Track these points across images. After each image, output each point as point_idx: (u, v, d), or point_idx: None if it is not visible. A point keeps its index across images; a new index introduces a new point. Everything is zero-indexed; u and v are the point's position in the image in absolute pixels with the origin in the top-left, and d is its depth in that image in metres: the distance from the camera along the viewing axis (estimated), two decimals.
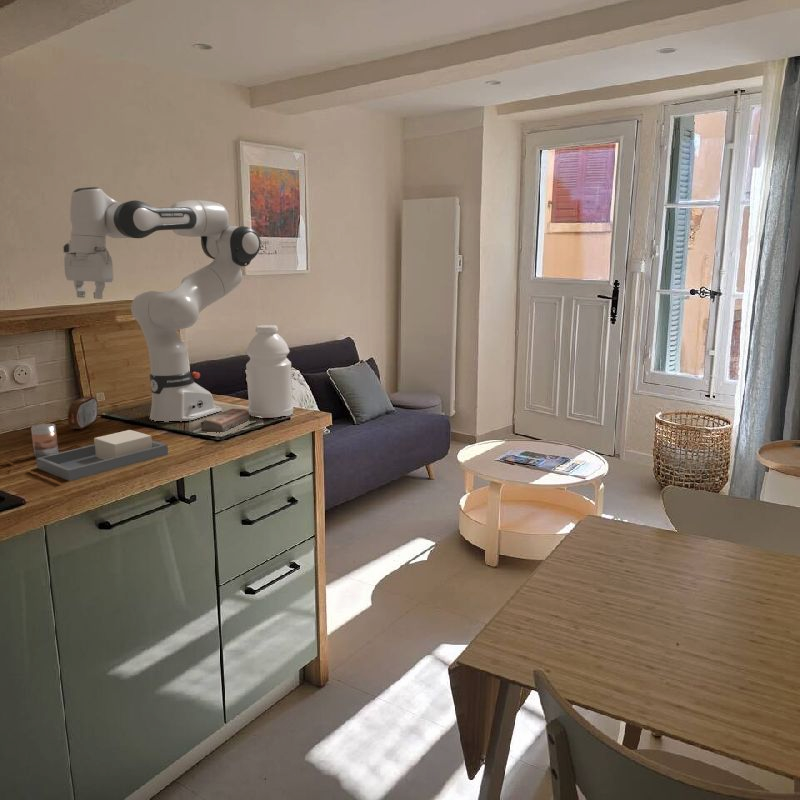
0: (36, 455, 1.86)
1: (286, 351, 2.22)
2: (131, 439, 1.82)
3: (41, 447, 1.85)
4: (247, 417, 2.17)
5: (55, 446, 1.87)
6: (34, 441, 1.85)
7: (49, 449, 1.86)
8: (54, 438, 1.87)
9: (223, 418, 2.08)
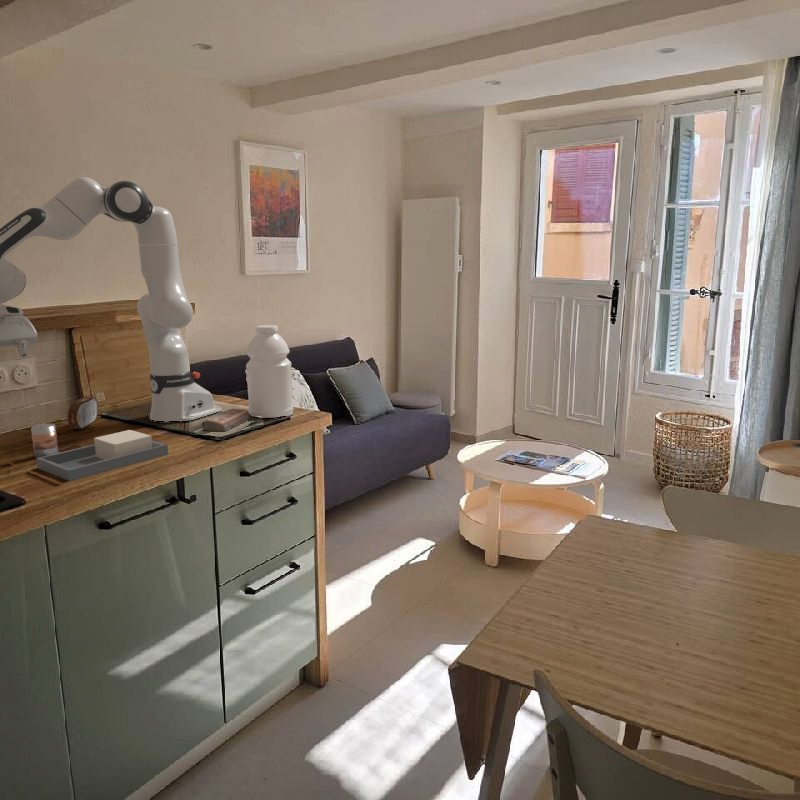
0: (36, 455, 1.86)
1: (286, 351, 2.22)
2: (131, 439, 1.82)
3: (41, 447, 1.85)
4: (247, 417, 2.17)
5: (55, 446, 1.87)
6: (34, 441, 1.85)
7: (49, 449, 1.86)
8: (54, 438, 1.87)
9: (224, 418, 2.08)
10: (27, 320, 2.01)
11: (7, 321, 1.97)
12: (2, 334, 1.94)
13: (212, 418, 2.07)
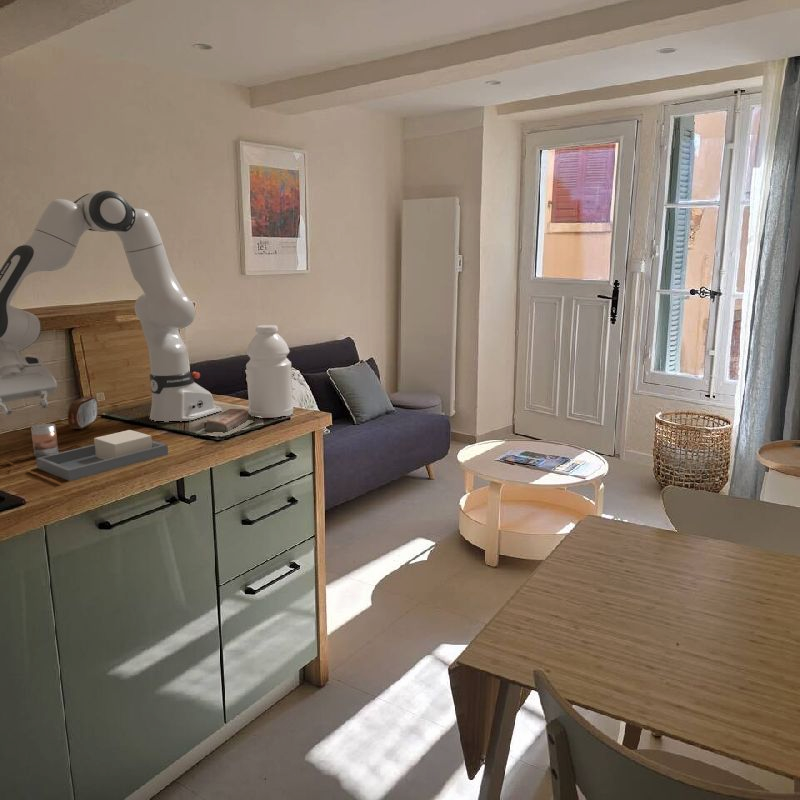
0: (36, 455, 1.86)
1: (286, 351, 2.22)
2: (131, 439, 1.82)
3: (41, 447, 1.85)
4: (246, 417, 2.18)
5: (55, 446, 1.87)
6: (34, 441, 1.85)
7: (49, 449, 1.86)
8: (54, 438, 1.87)
9: (226, 418, 2.08)
10: (46, 369, 1.98)
11: (27, 372, 1.95)
12: (21, 387, 1.92)
13: (213, 418, 2.07)
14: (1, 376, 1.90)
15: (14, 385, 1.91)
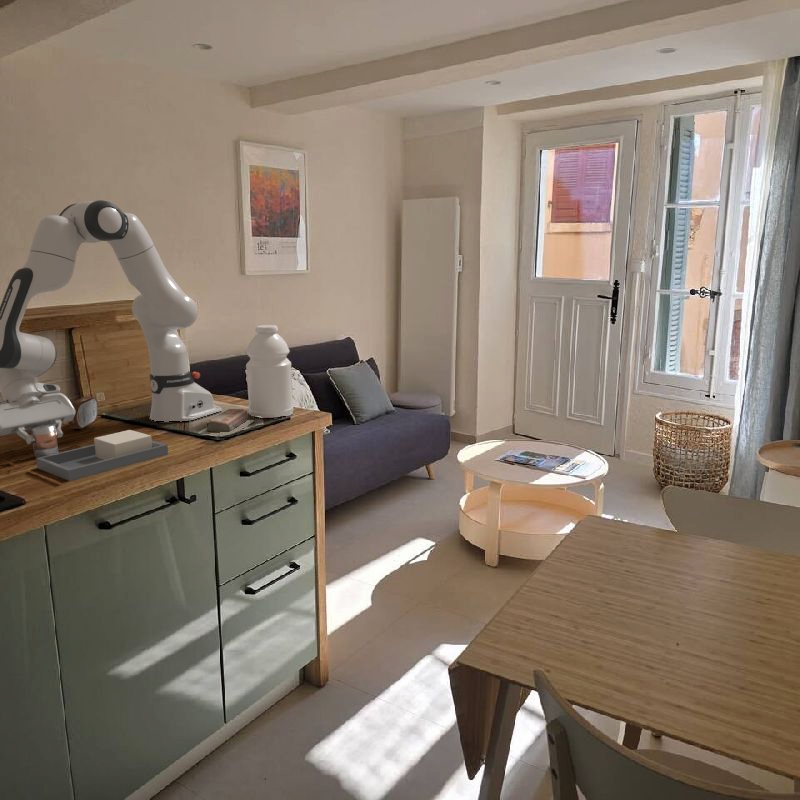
0: (36, 455, 1.86)
1: (286, 351, 2.22)
2: (131, 439, 1.82)
3: (41, 447, 1.85)
4: (246, 417, 2.18)
5: (55, 446, 1.87)
6: None
7: (49, 449, 1.86)
8: (54, 438, 1.87)
9: (227, 418, 2.08)
10: (64, 397, 1.95)
11: (45, 399, 1.91)
12: (40, 415, 1.88)
13: (215, 419, 2.07)
14: (19, 405, 1.86)
15: (33, 414, 1.87)
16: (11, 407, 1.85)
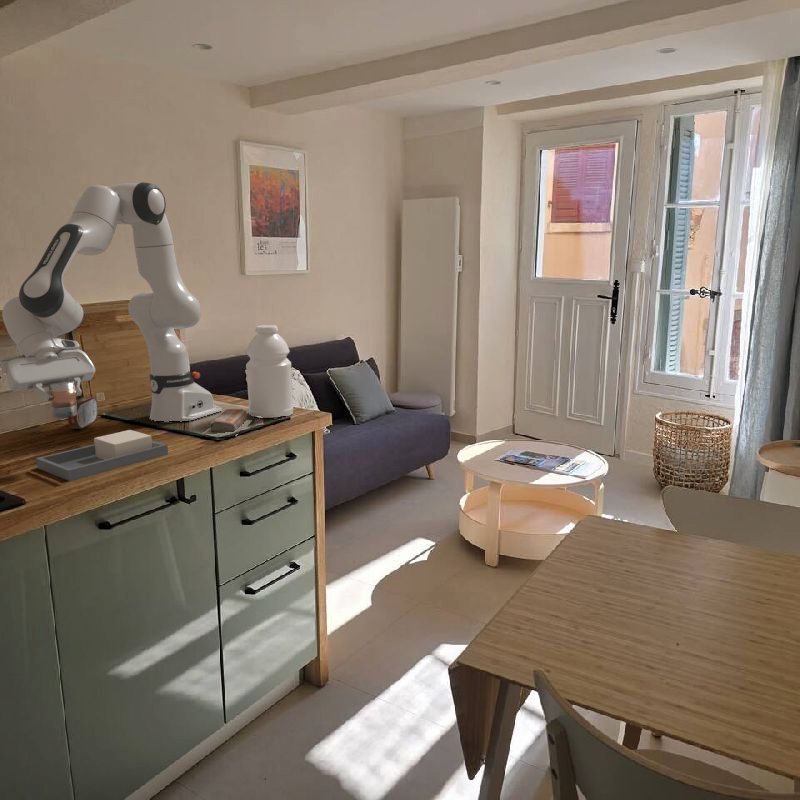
0: (54, 413, 1.74)
1: (286, 351, 2.22)
2: (131, 439, 1.82)
3: (59, 405, 1.73)
4: (245, 417, 2.18)
5: (74, 404, 1.76)
6: None
7: (67, 407, 1.74)
8: (73, 395, 1.75)
9: (230, 418, 2.08)
10: (83, 354, 1.83)
11: (63, 356, 1.80)
12: (58, 372, 1.76)
13: (219, 419, 2.06)
14: (36, 360, 1.75)
15: (50, 370, 1.76)
16: (28, 362, 1.74)
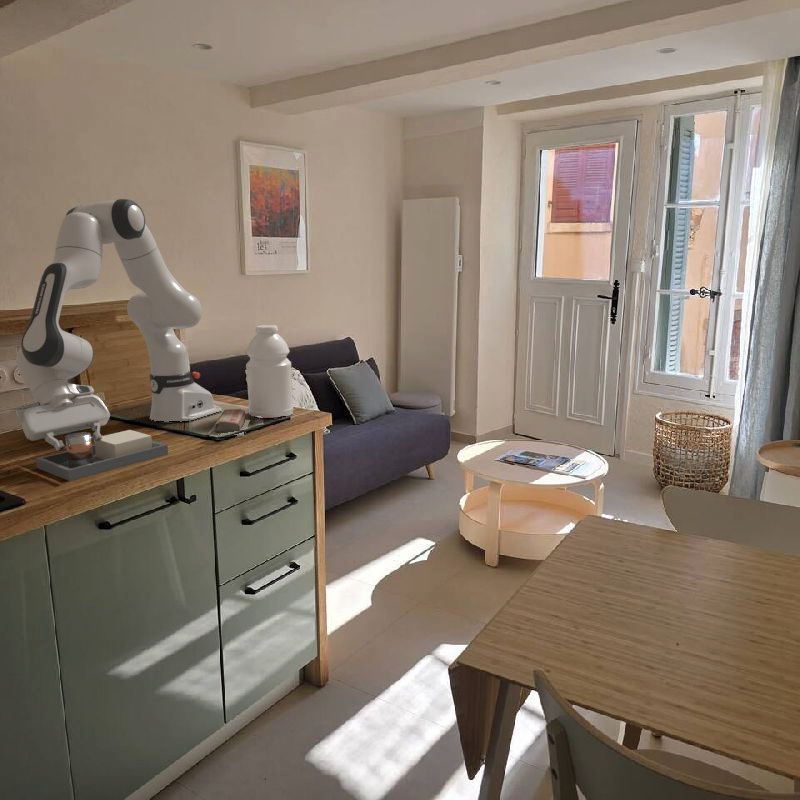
0: (71, 466, 1.74)
1: (286, 351, 2.22)
2: (131, 439, 1.82)
3: (76, 457, 1.73)
4: None
5: (90, 456, 1.76)
6: (69, 451, 1.74)
7: (84, 460, 1.74)
8: (90, 447, 1.75)
9: (234, 418, 2.08)
10: (98, 399, 1.83)
11: (78, 402, 1.80)
12: (73, 419, 1.76)
13: (222, 419, 2.06)
14: (51, 407, 1.75)
15: (66, 417, 1.76)
16: (43, 410, 1.73)
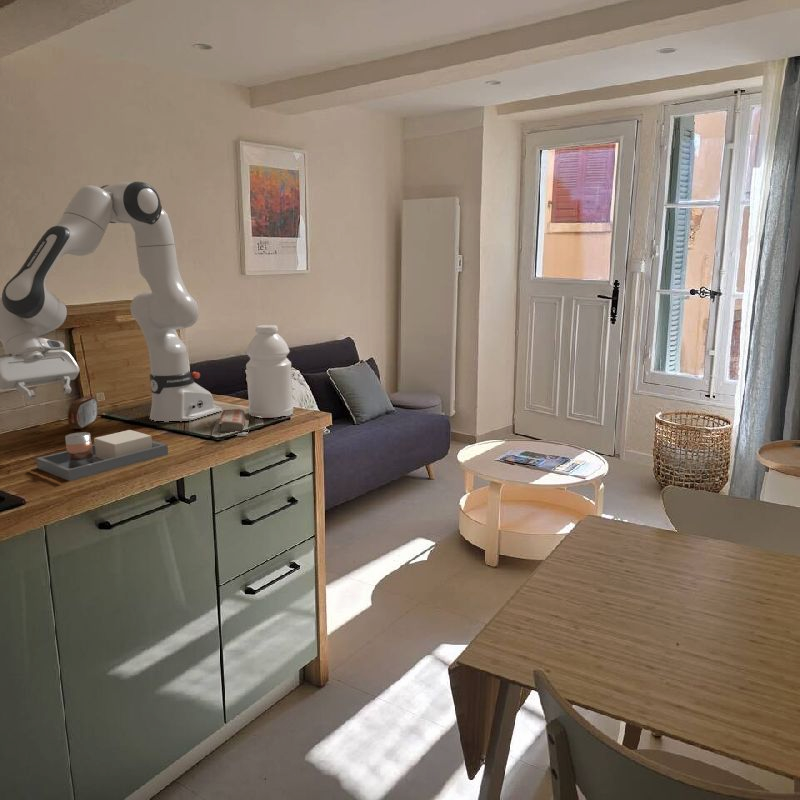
0: (71, 466, 1.74)
1: (286, 351, 2.22)
2: (131, 439, 1.82)
3: (76, 457, 1.73)
4: None
5: (90, 456, 1.76)
6: (69, 451, 1.74)
7: (84, 460, 1.74)
8: (90, 447, 1.75)
9: (236, 418, 2.08)
10: (68, 354, 1.90)
11: (49, 355, 1.86)
12: (44, 371, 1.83)
13: (225, 419, 2.06)
14: (23, 359, 1.81)
15: (37, 369, 1.82)
16: (15, 361, 1.79)
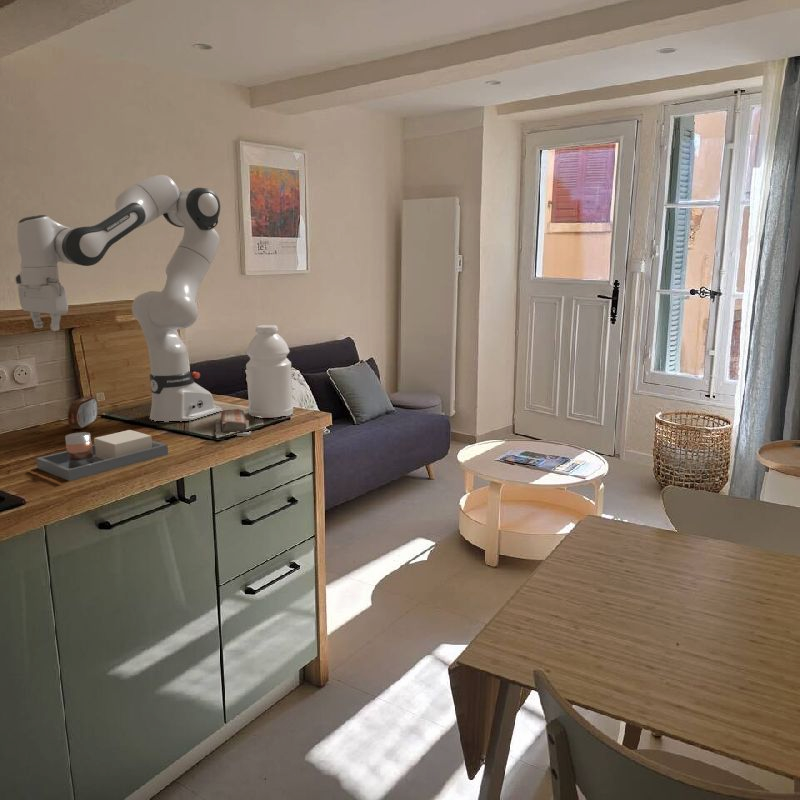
0: (71, 466, 1.74)
1: (286, 351, 2.22)
2: (131, 439, 1.82)
3: (76, 457, 1.73)
4: None
5: (90, 456, 1.76)
6: (69, 451, 1.74)
7: (84, 460, 1.74)
8: (90, 447, 1.75)
9: (238, 418, 2.08)
10: None
11: None
12: None
13: (228, 419, 2.06)
14: None
15: None
16: None
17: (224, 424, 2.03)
